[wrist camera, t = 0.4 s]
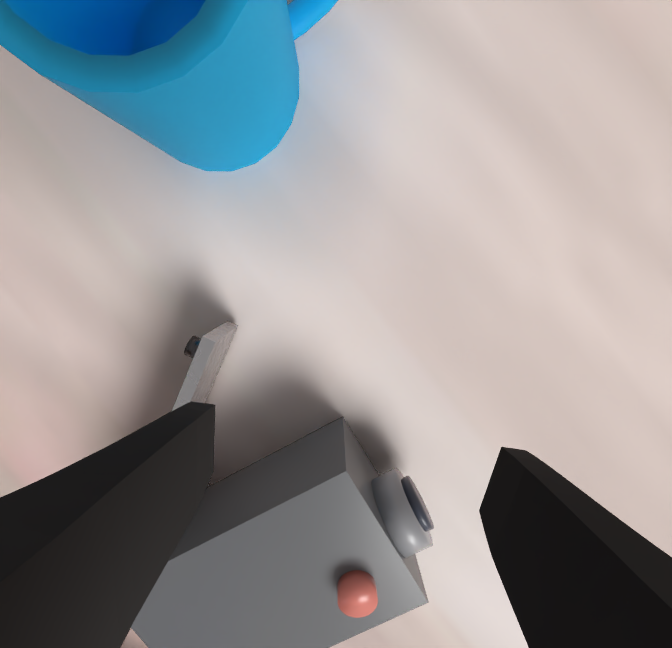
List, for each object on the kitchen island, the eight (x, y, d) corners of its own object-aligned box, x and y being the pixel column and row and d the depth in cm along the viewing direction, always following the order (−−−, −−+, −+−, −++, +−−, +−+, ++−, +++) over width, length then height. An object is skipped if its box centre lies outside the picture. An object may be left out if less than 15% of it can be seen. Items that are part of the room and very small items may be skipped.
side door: (161, 513, 20) (122, 571, 16) (136, 503, 20) (91, 559, 16) (242, 326, 18) (218, 345, 14) (214, 314, 18) (182, 329, 14)
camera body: (231, 607, 22) (195, 728, 16) (157, 513, 20) (91, 609, 15) (433, 510, 21) (470, 604, 15) (370, 402, 19) (385, 462, 14)
